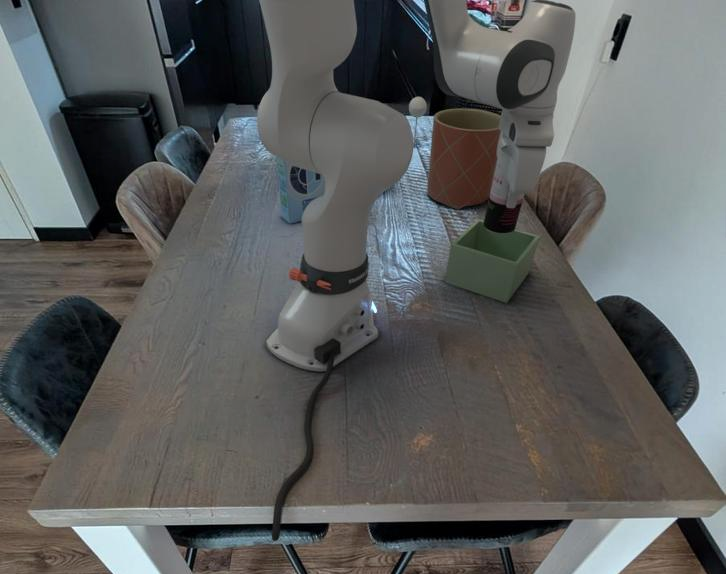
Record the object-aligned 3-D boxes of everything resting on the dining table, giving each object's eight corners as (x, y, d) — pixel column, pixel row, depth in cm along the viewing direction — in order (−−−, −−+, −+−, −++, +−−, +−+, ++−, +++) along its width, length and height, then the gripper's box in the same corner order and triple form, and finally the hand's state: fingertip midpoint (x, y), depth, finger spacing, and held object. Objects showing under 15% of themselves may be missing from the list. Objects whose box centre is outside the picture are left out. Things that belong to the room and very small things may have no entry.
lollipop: (402, 145, 167) (406, 95, 156) (416, 143, 169) (421, 93, 158) (410, 150, 163) (415, 100, 152) (425, 148, 165) (431, 98, 154)
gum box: (343, 201, 134) (342, 108, 117) (352, 208, 131) (353, 113, 114) (280, 217, 126) (270, 119, 109) (289, 225, 123) (280, 125, 106)
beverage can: (510, 221, 102) (530, 144, 91) (518, 235, 97) (540, 157, 86) (480, 220, 101) (496, 144, 90) (486, 235, 97) (504, 156, 86)
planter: (457, 179, 147) (470, 104, 132) (504, 200, 137) (523, 122, 122) (411, 192, 139) (418, 114, 124) (456, 216, 129) (470, 135, 114)
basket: (506, 303, 101) (517, 264, 94) (444, 282, 106) (450, 244, 99) (528, 273, 109) (540, 236, 103) (470, 255, 114) (477, 218, 108)
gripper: (498, 102, 92) (483, 177, 102) (518, 138, 78) (498, 220, 88) (531, 104, 92) (512, 178, 102) (557, 139, 78) (532, 221, 88)
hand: (506, 198), depth 95 cm, fingers closed on beverage can, 6 cm apart
